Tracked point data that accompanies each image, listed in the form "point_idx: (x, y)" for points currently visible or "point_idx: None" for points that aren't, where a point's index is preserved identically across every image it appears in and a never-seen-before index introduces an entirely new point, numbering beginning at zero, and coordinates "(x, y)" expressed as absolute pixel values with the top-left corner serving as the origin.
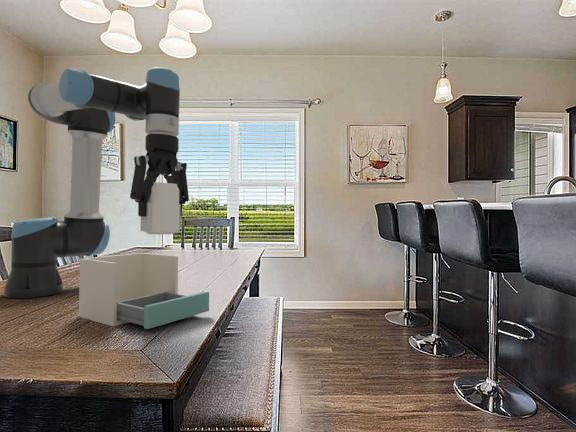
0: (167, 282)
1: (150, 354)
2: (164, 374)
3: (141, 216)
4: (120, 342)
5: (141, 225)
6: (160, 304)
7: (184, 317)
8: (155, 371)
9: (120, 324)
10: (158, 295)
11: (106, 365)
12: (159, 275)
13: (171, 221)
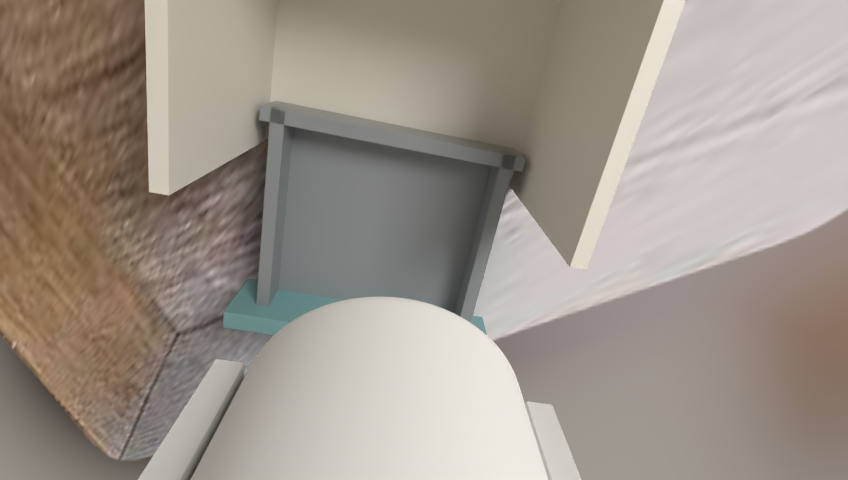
0: (545, 160)
1: (172, 365)
2: (125, 438)
3: (150, 471)
4: (182, 258)
5: (196, 401)
6: (273, 333)
7: None
8: (123, 420)
9: None
10: (466, 159)
11: (80, 332)
12: (575, 101)
13: None
